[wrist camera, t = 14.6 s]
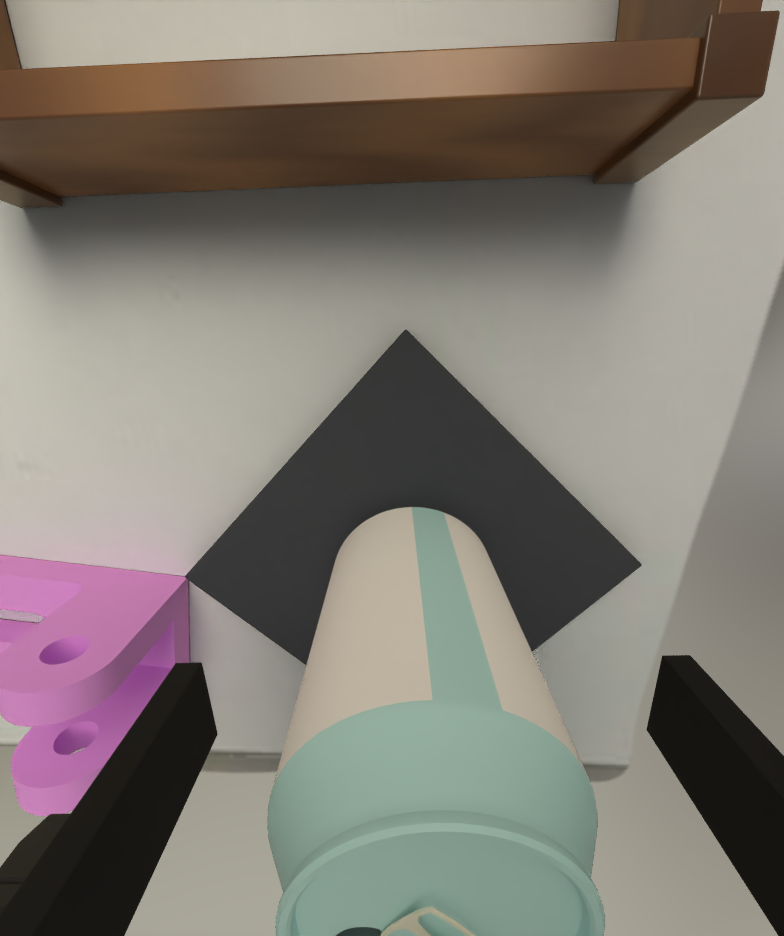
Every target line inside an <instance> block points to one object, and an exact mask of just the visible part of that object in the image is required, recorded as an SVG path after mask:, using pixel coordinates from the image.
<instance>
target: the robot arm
mask: <svg viewBox="0 0 784 936" xmlns="http://www.w3.org/2000/svg"><path fill="white" fill-rule="evenodd" d="M647 731H648V732H649V734H650V736H651V737H652V739H653V740H654V742H655V744H656V745H657V747H658V748H659V750H660V751H661V753H662V754H663V756H664V758H665V759H666V761H667V762H668V764H669V765H670V767H671V769H672V770H673V772H674V773H675V774H676V776H677V778H678V779H679V781H680V783H681V784H682V786H683V787H684V789H685V790H686V792H687V793H688V795H689V797H690V798H691V800H692V801H693V803H694V804H695V806H696V808H697V809H698V811H699V812H700V814H701V815H702V817H703V819H704V820H705V822H706V823H707V825H708V826H709V828H710V829H711V831H712V832H713V834H714V836H715V837H716V839H717V840H718V842H719V843H720V845H721V847H722V848H723V850H724V851H725V853H726V854H727V856H728V857H729V859H730V861H731V862H732V864H733V865H734V867H735V869H736V870H737V872H738V873H739V875H740V876H741V878H742V879H743V881H744V883H745V884H746V886H747V887H748V889H749V890H750V892H751V894H752V895H753V897H754V898H755V900H756V901H757V903H758V904H759V906H760V908H761V909H762V911H763V912H764V914H765V915H766V917H767V918H768V920H769V922H770V923H771V925H772V926H773V928H774V929H775V931H776V932H777V934H778V936H784V756H783V755H782V754H781V753H780V752H779V750H778V749H777V748H776V747H775V746H774V745H773V744H772V743H771V742H770V741H769V740H768V739H767V738H766V737H765V736H764V734H763V733H762V732H761V731H760V730H759V729H758V728H757V727H756V726H755V725H754V724H753V722H752V721H751V720H750V719H749V718H748V717H747V716H746V715H745V714H744V713H743V712H742V711H741V710H740V709H739V708H738V706H737V705H736V704H735V703H734V702H733V701H732V700H731V699H730V698H729V697H728V696H727V695H726V694H725V692H724V691H723V690H722V689H721V688H720V687H719V686H718V685H717V684H716V683H715V682H714V681H713V680H712V678H711V677H710V676H709V675H708V674H707V673H706V672H705V671H704V670H703V669H702V668H701V667H700V666H699V665H698V663H697V662H696V661H695V660H694V659H693V658H692V657H691V656H689V655H684V656H683V655H681V656H662V660H661V665H660V669H659V674H658V679H657V684H656V688H655V693H654V697H653V702H652V707H651V712H650V716H649V721H648V726H647ZM216 736H217V730H216V725H215V721H214V716H213V711H212V707H211V702H210V698H209V693H208V689H207V684H206V680H205V675H204V671H203V666H202V663H175V665H174V666H173V668H172V669H171V670H170V672H169V673H168V675H167V676H166V678H165V679H164V680H163V682H162V683H161V685H160V686H159V688H158V689H157V691H156V692H155V693H154V695H153V696H152V698H151V699H150V701H149V702H148V703H147V705H146V706H145V708H144V709H143V711H142V712H141V714H140V715H139V716H138V718H137V719H136V721H135V722H134V724H133V725H132V726H131V728H130V729H129V731H128V732H127V734H126V735H125V737H124V738H123V739H122V741H121V742H120V744H119V745H118V747H117V748H116V749H115V751H114V752H113V754H112V755H111V757H110V758H109V760H108V761H107V762H106V764H105V765H104V767H103V768H102V770H101V771H100V772H99V774H98V775H97V777H96V778H95V780H94V781H93V783H92V784H91V785H90V787H89V788H88V790H87V791H86V793H85V794H84V795H83V797H82V798H81V800H80V801H79V803H78V804H77V805H76V807H75V808H74V810H73V811H72V813H71V814H50V815H49V816H47V817H46V819H44V820H43V821H42V822H41V823H40V824H39V825H38V826H37V827H36V828H35V829H33V830H32V831H31V832H30V833H29V834H28V835H27V836H26V837H25V838H24V839H23V840H21V842H19V844H18V845H17V846H16V847H15V849H14V850H13V851H12V853H11V854H10V855H9V857H8V858H7V859H6V861H5V862H4V863H3V865H2V866H1V867H0V936H124V935H125V933H126V931H127V928H128V926H129V924H130V922H131V920H132V918H133V915H134V913H135V911H136V909H137V907H138V905H139V903H140V901H141V898H142V896H143V894H144V892H145V890H146V888H147V885H148V883H149V881H150V879H151V877H152V875H153V872H154V870H155V868H156V866H157V864H158V862H159V859H160V857H161V855H162V853H163V851H164V849H165V846H166V844H167V842H168V840H169V838H170V836H171V834H172V831H173V829H174V827H175V825H176V823H177V821H178V818H179V816H180V814H181V812H182V810H183V807H184V805H185V803H186V801H187V799H188V797H189V795H190V792H191V790H192V788H193V786H194V784H195V782H196V779H197V777H198V775H199V773H200V771H201V769H202V767H203V764H204V762H205V760H206V758H207V756H208V754H209V751H210V749H211V747H212V745H213V743H214V741H215V738H216Z"/></svg>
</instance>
